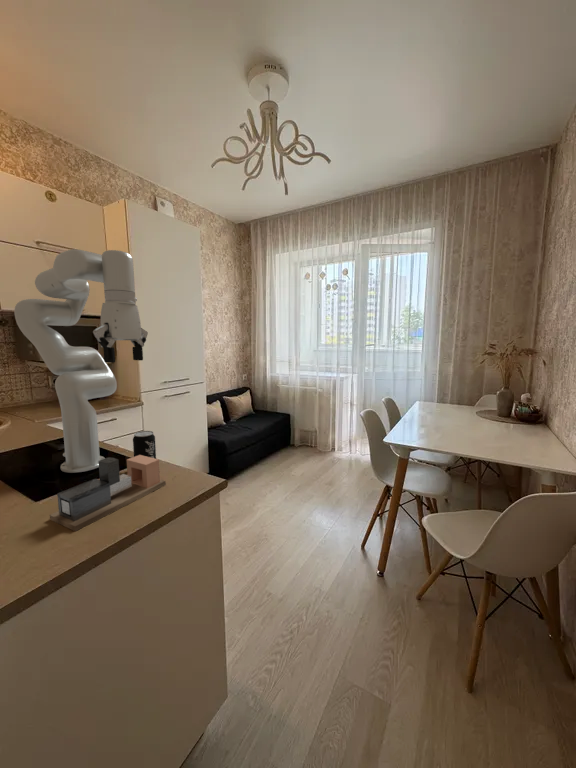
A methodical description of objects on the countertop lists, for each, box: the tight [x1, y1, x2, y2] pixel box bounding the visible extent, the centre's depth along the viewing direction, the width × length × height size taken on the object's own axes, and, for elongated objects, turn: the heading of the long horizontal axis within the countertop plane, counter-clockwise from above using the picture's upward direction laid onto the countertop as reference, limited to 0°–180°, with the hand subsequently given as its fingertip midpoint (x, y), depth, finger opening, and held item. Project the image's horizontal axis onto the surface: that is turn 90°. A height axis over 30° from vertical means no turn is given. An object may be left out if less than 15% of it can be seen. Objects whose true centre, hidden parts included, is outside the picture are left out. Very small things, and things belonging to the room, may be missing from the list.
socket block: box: [126, 455, 161, 488], centre depth 92 cm, size 8×4×7 cm, turn 64°
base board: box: [49, 479, 167, 532], centre depth 84 cm, size 10×26×1 cm, turn 153°
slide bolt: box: [61, 456, 132, 515], centre depth 80 cm, size 4×16×9 cm, turn 154°
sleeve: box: [56, 478, 111, 521], centre depth 77 cm, size 6×9×5 cm, turn 154°
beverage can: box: [132, 430, 157, 459], centre depth 104 cm, size 7×7×12 cm
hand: (124, 361), depth 90 cm, fingers open, 9 cm apart
